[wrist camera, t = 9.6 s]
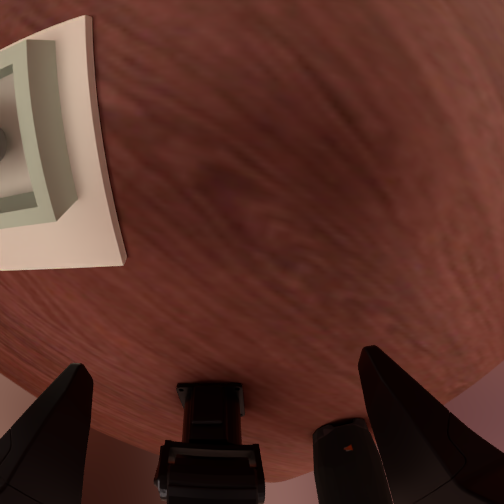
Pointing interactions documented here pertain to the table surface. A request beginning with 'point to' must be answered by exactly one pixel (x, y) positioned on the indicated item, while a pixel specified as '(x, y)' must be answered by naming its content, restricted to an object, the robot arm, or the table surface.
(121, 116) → the table surface
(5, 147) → the lightbulb
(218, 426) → the robot arm
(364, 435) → the portable speaker
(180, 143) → the table surface
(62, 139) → the tray
